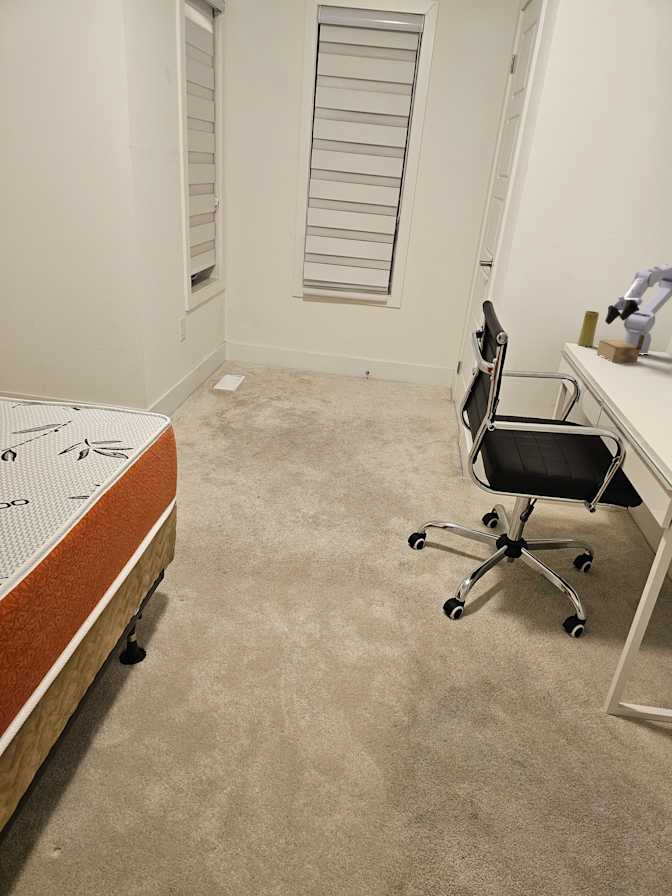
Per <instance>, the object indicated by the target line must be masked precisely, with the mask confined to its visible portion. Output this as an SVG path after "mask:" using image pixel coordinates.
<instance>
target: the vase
mask: <svg viewBox="0 0 672 896" xmlns="http://www.w3.org/2000/svg"><path fill="white" fill-rule="evenodd" d="M599 316H600V313H599V312H598V311H595V310H593V311H592V310H586V311H585V314H584V317H583V322H582V323H583V324H582V327H581V330H580V335H579V339H578V342H577V345H578V346H580V345H583V346H582V347H584V346H592V347H594V346H593V345H594V341H595V340H594V339H595V335H596V334H595V333H596V328H597V324H598V320H599Z"/></svg>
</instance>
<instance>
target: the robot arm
mask: <svg viewBox="0 0 672 896" xmlns="http://www.w3.org/2000/svg"><path fill="white" fill-rule="evenodd" d="M656 283H658V285H657V286H658V287H659V288H660V289H659V290H658V291H657V292H656V293H655V294H654V295H653V297H652V298H651V299H650V300H649V301H648V302H647V303H646V304H645V305H644V306H643V307H642V308H641V309H640V307H639V306H641V305H642V303H644V302H643V300H642V297H643V295H644V294H645V293H646V292H647V290H648V289H649V288H653V287H654V286H655V284H656ZM670 298H672V265H669V264H664V265H662V267H661V268H660V267H659V266H653V268H649V269H647V270H640V271H637V272H636V273H635V275H634V278H633V279H632V282H631V285H630V286H629V287H628V289H627V290H626V292H625V293H624V294H623V296H622V295H621V296H619V297H618V301H617V302H615V303H614V304H612V305H609V306H608V307H607V315H606V318H605V321H604V322H605V323H606V324H607V325H610V324H612V322H614V321H615V320H616V319H617V318H618V317H619V319H621V321H623V327H624V329H625V331H626V332H625V336H624V340H623V341H625V342H627V343H630V344H632V345H635V346H637V344H638V340H639V336H640V335H645V337H644V341H643V345H642V349H641V350H640V351H639V353H648V354H649V349H650V345H651V342H652V335H651V333H649V332H651V330H652V329H653V327H654V325H655V324H656V314H657V313H658V312H659V311H660V309H662V308H663V306H664V305H665V304H666V303H667V302H668V301H669V300H670ZM620 311H621V312H620Z"/></svg>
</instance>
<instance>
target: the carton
mask: <svg viewBox="0 0 672 896" xmlns="http://www.w3.org/2000/svg"><path fill="white" fill-rule="evenodd" d="M616 347H637V346H635V345H632V344H630V343H627V342H625V341H624V340H617V339H616V340H615V339H613V340H611V339H600V340H599V343H598V347H597V351H596V354H597V353H598V354H600V355H602V356H604V357H605V358H607V359H609V360H611V361H613V357H614V353H615V349H616ZM605 358H604V359H605ZM607 359H606V360H607ZM609 360H608V361H609ZM611 361H610V362H611Z"/></svg>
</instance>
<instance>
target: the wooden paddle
mask: <svg viewBox="0 0 672 896" xmlns="http://www.w3.org/2000/svg"><path fill="white" fill-rule="evenodd" d="M644 337H645V335H640V336H639V340H638V344H637V347H616V349H615V353H614V357H613V362H612V363H637V362H638V359H639V356H640V355H639V351H640V350H641V349H642V345H643V341H644Z"/></svg>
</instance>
